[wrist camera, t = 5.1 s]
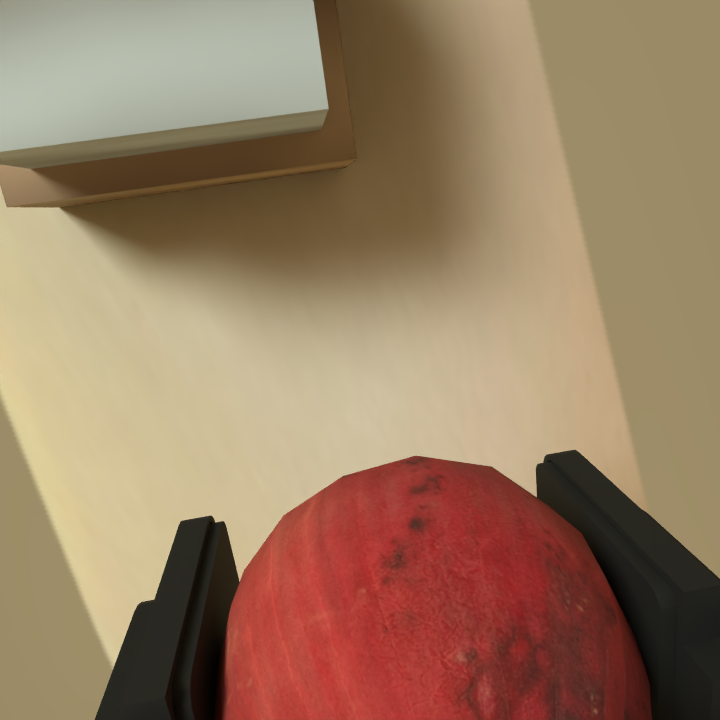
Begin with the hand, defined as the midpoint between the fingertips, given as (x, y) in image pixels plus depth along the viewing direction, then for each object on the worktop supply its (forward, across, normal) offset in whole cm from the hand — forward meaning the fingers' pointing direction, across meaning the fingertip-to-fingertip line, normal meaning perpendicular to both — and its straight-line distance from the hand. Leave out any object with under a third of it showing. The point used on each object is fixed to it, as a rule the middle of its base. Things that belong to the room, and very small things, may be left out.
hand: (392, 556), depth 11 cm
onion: (+1, 0, 0) cm, 1 cm away
